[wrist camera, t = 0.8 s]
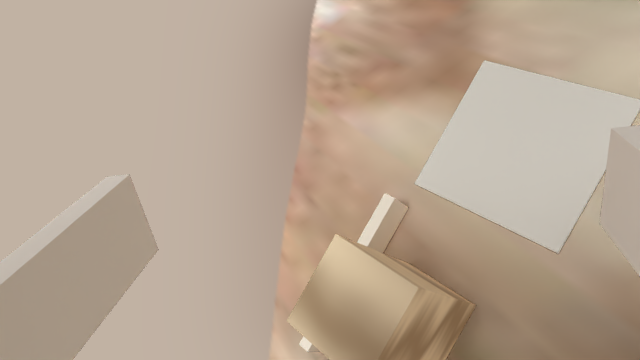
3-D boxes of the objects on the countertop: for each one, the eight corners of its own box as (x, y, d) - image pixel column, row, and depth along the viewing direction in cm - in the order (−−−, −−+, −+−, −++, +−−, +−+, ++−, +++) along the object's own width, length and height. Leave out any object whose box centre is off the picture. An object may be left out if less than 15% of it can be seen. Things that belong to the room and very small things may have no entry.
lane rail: (399, 202, 39) (384, 192, 36) (408, 207, 38) (394, 198, 36) (318, 344, 39) (299, 344, 36) (326, 351, 38) (307, 352, 36)
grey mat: (485, 62, 38) (484, 60, 38) (644, 102, 31) (644, 100, 31) (415, 184, 38) (414, 183, 38) (558, 253, 31) (558, 253, 31)
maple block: (409, 263, 36) (335, 233, 27) (476, 305, 33) (418, 287, 23) (373, 328, 36) (286, 321, 27) (436, 376, 33) (361, 388, 23)
